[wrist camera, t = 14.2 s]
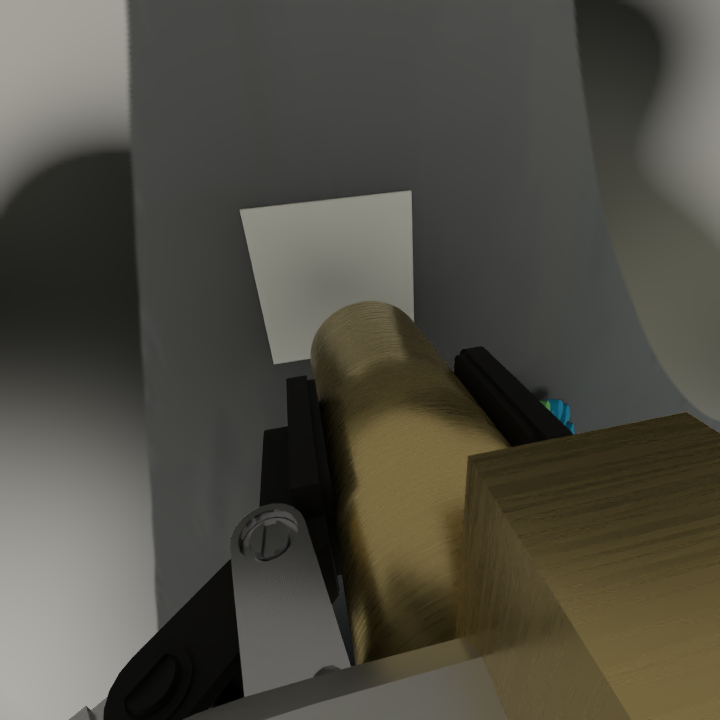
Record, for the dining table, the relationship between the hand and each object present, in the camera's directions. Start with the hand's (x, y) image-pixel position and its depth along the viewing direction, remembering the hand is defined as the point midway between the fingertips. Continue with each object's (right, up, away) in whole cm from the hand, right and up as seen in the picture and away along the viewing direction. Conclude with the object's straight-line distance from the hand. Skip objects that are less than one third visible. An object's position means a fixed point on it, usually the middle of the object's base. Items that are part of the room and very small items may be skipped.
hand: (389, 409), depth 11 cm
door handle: (-1, +2, +3) cm, 3 cm away
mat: (-2, +6, +12) cm, 13 cm away
